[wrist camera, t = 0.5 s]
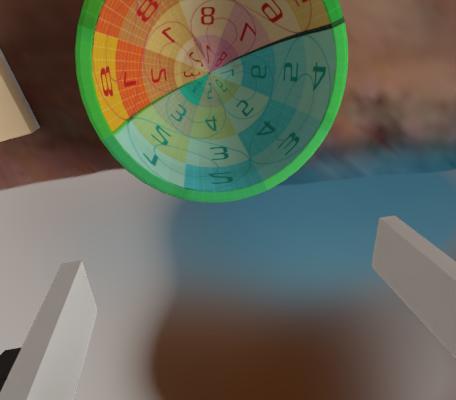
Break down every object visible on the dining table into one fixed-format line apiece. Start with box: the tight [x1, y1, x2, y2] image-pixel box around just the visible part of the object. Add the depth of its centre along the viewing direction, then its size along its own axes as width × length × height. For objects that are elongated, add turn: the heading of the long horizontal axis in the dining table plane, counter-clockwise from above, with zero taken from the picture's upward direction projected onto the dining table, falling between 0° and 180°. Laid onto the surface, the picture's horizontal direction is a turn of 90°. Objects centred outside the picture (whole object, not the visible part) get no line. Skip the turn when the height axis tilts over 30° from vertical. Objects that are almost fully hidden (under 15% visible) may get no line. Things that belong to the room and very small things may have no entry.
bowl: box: [75, 0, 348, 203], centre depth 31 cm, size 22×22×10 cm
